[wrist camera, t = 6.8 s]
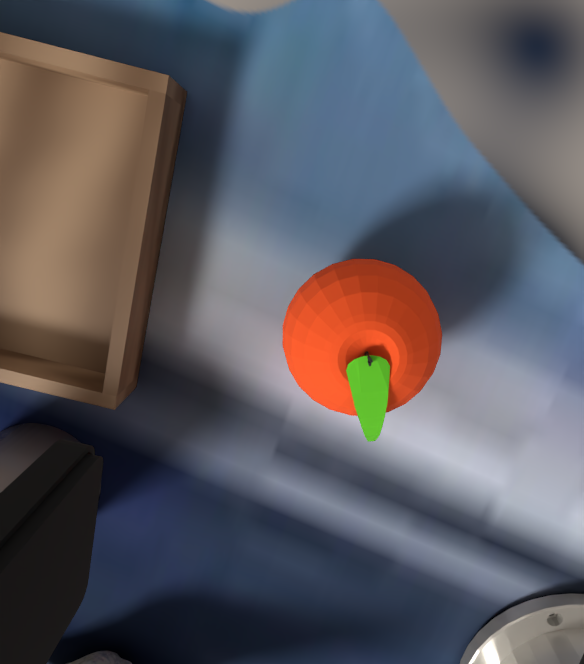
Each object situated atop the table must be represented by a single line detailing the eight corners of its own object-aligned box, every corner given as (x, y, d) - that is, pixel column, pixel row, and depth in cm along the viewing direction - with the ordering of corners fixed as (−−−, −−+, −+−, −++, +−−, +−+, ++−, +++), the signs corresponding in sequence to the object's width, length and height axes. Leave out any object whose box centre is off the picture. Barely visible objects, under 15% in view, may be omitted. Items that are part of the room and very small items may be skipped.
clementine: (427, 395, 26) (468, 464, 19) (297, 407, 26) (291, 479, 20) (418, 243, 24) (461, 258, 17) (278, 259, 25) (264, 280, 18)
